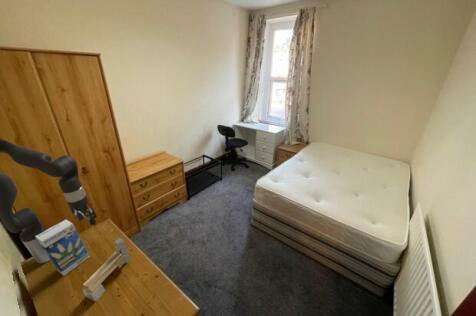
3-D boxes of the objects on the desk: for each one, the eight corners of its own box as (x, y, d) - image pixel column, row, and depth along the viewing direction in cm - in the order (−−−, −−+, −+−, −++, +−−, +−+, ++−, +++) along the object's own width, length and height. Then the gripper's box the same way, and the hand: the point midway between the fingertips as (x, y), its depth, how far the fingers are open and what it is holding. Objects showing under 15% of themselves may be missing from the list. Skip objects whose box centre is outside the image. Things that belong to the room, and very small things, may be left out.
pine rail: (86, 289, 91) (83, 284, 90) (118, 256, 107) (116, 251, 105) (92, 292, 90) (89, 287, 88) (123, 258, 105) (121, 253, 104)
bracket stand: (86, 296, 93) (72, 276, 86) (124, 256, 112) (116, 236, 105) (96, 301, 91) (83, 281, 84) (133, 260, 110) (125, 240, 103)
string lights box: (63, 276, 102) (40, 242, 91) (56, 270, 105) (33, 236, 94) (90, 256, 113) (73, 223, 101) (83, 250, 116) (65, 218, 104)
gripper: (56, 197, 90) (70, 223, 98) (78, 205, 86) (90, 231, 94) (73, 188, 97) (85, 213, 104) (94, 195, 93) (104, 220, 100)
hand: (87, 221), depth 99 cm, fingers open, 8 cm apart
